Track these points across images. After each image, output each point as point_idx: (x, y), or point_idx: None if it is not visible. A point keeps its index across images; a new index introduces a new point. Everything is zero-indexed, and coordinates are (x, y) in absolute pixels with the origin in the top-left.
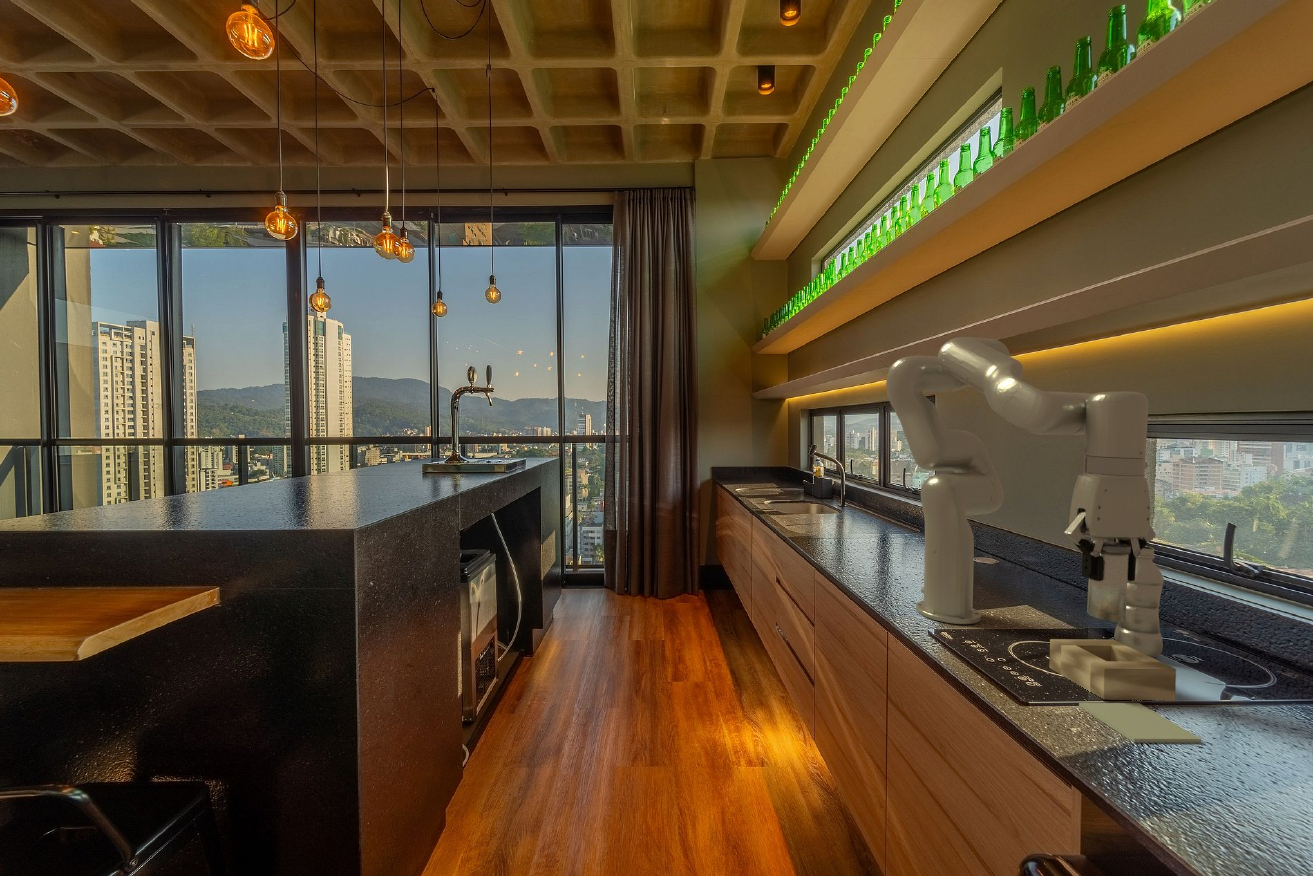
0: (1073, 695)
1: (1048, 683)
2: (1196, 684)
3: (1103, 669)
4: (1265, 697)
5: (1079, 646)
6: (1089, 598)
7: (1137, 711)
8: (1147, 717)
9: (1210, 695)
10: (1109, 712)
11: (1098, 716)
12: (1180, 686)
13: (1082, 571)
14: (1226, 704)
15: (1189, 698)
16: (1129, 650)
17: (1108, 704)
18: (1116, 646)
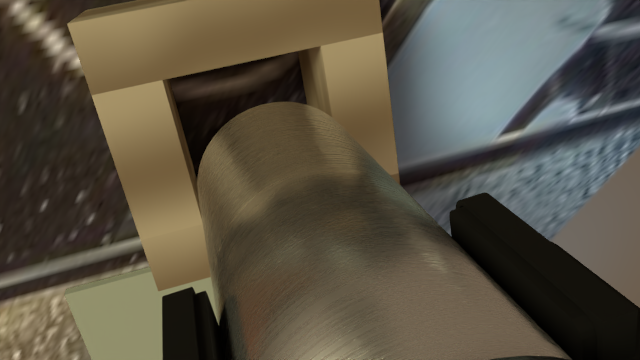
0: (80, 223)
1: (27, 155)
2: (517, 45)
3: (157, 285)
4: (623, 92)
5: (178, 76)
6: (204, 223)
7: (211, 296)
8: (217, 321)
9: (494, 116)
10: (128, 324)
11: (88, 348)
12: (459, 72)
13: (164, 319)
14: (489, 162)
15: (422, 151)
16: (360, 88)
17: (151, 279)
18: (336, 51)
